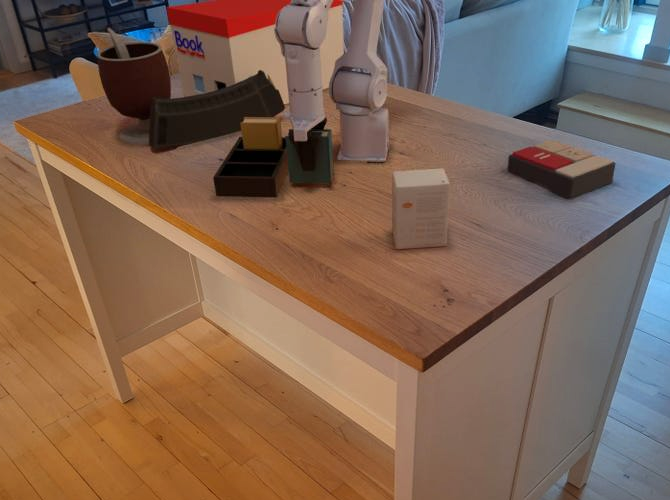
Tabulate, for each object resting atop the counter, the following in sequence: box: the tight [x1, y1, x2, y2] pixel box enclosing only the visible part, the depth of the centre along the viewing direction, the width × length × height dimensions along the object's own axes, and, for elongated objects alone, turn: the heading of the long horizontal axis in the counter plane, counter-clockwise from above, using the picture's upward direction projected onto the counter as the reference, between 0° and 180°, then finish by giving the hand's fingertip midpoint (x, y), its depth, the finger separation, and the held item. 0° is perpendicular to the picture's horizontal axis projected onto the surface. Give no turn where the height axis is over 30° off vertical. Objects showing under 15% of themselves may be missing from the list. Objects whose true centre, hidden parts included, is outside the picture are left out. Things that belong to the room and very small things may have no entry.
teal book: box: [284, 128, 335, 185], centre depth 116 cm, size 8×3×8 cm, turn 82°
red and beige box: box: [507, 139, 617, 200], centre depth 117 cm, size 11×4×15 cm
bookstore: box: [166, 0, 345, 106], centre depth 155 cm, size 21×35×21 cm, turn 137°
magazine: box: [149, 70, 286, 150], centre depth 137 cm, size 17×3×30 cm
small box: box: [391, 167, 451, 250], centre depth 100 cm, size 8×6×10 cm
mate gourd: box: [96, 27, 172, 146], centre depth 137 cm, size 16×14×20 cm
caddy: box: [212, 136, 289, 198], centre depth 123 cm, size 11×19×4 cm, turn 172°
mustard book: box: [240, 116, 283, 149], centre depth 126 cm, size 7×3×8 cm, turn 82°
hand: (310, 165), depth 117 cm, fingers closed on teal book, 3 cm apart
